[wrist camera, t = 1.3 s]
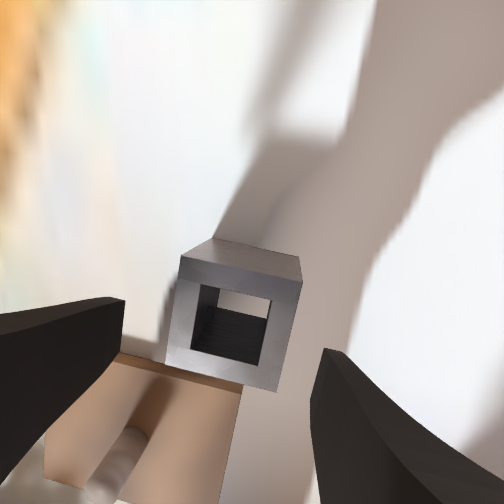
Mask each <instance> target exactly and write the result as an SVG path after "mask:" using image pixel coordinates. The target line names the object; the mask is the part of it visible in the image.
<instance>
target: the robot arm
mask: <svg viewBox="0 0 504 504" xmlns="http://www.w3.org/2000/svg"><path fill="white" fill-rule="evenodd" d="M124 309H125V300H121V299H117V298H112V297H100V298H93V299H87V300H81V301H76V302H70V303H65V304H60V305H54V306H49V307H43V308H37V309H31V310H24V311H18V312H12V313H4V314H0V485H1V483H2V482H3V481H4V480H5V478H6V477H7V476H8V475H9V473H10V472H11V471H12V470H13V469H14V467H15V466H16V465H17V464H18V463H19V461H20V460H21V459H22V458H23V457H24V456H25V454H26V453H27V452H28V451H29V450H30V448H31V447H32V446H33V445H34V444H35V442H36V441H37V440H38V439H39V438H40V437H41V436H42V435H43V434H44V433H45V432H46V430H47V429H48V428H49V427H50V426H51V425H52V424H53V423H54V422H55V421H56V420H57V419H58V418H59V417H60V416H61V415H62V414H63V413H64V412H65V411H66V410H67V409H68V408H69V407H70V406H71V405H72V404H73V403H74V402H75V401H76V400H77V399H78V398H79V397H80V396H81V395H82V394H83V393H84V392H86V390H87V389H88V388H89V387H90V386H91V385H92V384H93V383H94V382H95V381H96V380H97V379H98V378H99V377H100V376H101V375H102V374H103V373H104V372H105V370H106V369H107V368H108V367H109V365H110V364H111V363H112V361H113V360H114V359H115V357H116V356H117V355H118V353H119V352H120V344H121V336H122V327H123V318H124ZM310 429H311V437H312V444H313V451H314V459H315V466H316V473H317V480H318V487H319V494H320V502H321V504H504V481H503V480H502V479H500V478H498V477H497V476H495V475H493V474H492V473H490V472H489V471H487V470H485V469H484V468H482V467H481V466H479V465H477V464H476V463H474V462H473V461H471V460H470V459H468V458H467V457H465V456H464V455H462V454H461V453H459V452H458V451H456V450H455V449H453V448H452V447H450V446H449V445H448V444H446V443H445V442H443V441H442V440H441V439H439V438H438V437H437V436H435V435H434V434H433V433H431V432H430V431H429V430H427V429H426V428H425V427H424V426H422V425H421V424H420V423H418V422H417V421H416V420H414V419H413V418H412V417H411V416H410V415H408V414H407V413H406V412H405V411H404V410H403V409H401V408H400V407H399V406H398V405H397V404H396V403H395V402H394V401H392V400H391V399H390V398H389V397H388V396H387V395H386V394H385V393H384V392H383V391H382V390H381V389H379V388H378V387H377V386H376V385H375V384H374V383H373V382H372V381H371V380H370V379H369V378H368V377H367V376H366V375H365V374H364V373H363V372H362V371H361V370H360V369H359V368H358V367H357V365H356V364H355V363H354V362H353V361H352V360H351V359H350V358H348V357H347V356H346V355H345V354H344V353H343V352H340V351H336V350H332V349H328V348H324V350H323V354H322V357H321V361H320V365H319V368H318V372H317V376H316V379H315V383H314V387H313V391H312V394H311V398H310Z"/></svg>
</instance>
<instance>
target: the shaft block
mask: <svg viewBox="0 0 504 504" xmlns="http://www.w3.org/2000/svg"><path fill="white" fill-rule="evenodd" d="M243 385H244V384H240V383H236V382H232V381H228V380H224V379H220V378H216V377H213V376H209V375H205V374H201V373H197V372H193V371H189V370H185V369H181V368H177V367H173V366H169V365H165V364H163V363H159V362H155V361H151V360H147V359H143V358H139V357H135V356H131V355H127V354H123V353H118V355H117V356H116V357H115V359H114V360H113V361H112V363H111V364H110V365H109V367H108V368H107V369H106V370H105V372H104V373H103V374H102V375H101V376H100V377H99V378H98V379H97V380H96V381H95V382H94V383H93V384H92V385H91V386H90V387H89V388H88V389H87V390H86V392H84V393H83V394H82V395H81V396H80V397H79V398H78V399H77V400H76V401H75V402H74V403H73V404H72V405H71V406H70V407H69V408H68V409H67V410H66V411H65V412H64V413H63V414H62V415H61V416H60V417H59V418H58V419H57V420H56V421H55V422H54V423H53V424H52V425H51V426H50V427H49V428H48V429H47V430H46V434H45V450H44V466H43V478H46V479H50V480H53V481H57V482H60V483H63V484H67V485H70V486H74V487H77V488H81V489H84V490H85V494H86V496H87V498H88V499H89V500H90V501H91V502H92V503H94V504H114V503H115V501H116V500H117V499H118V500H121V501H125V502H128V503H132V504H218V501H219V497H220V492H221V487H222V483H223V478H224V473H225V469H226V464H227V459H228V454H229V450H230V445H231V440H232V436H233V431H234V427H235V422H236V417H237V413H238V408H239V403H240V398H241V394H242V389H243Z"/></svg>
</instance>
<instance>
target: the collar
mask: <svg viewBox="0 0 504 504" xmlns="http://www.w3.org/2000/svg"><path fill="white" fill-rule="evenodd" d="M302 284H303V280H302V274H301V268H300V262H299V257H297V256H292V255H287V254H283V253H279V252H274V251H269V250H265V249H260V248H255V247H251V246H246V245H242V244H237V243H232V242H228V241H223V240H218V239H214V238H211V239H209V240H207V241H205V242H204V243H202V244H200V245H198V246H197V247H195V248H193V249H191V250H190V251H188V252H186V253H184V254H182V255H181V259H180V265H179V272H178V278H177V285H176V292H175V298H174V305H173V312H172V318H171V325H170V332H169V338H168V345H167V351H166V358H165V365H169V366H173V367H177V368H181V369H185V370H189V371H193V372H197V373H201V374H205V375H209V376H213V377H216V378H220V379H224V380H228V381H232V382H236V383H240V384H244V385H248V386H252V387H256V388H260V389H264V390H268V391H272V392H276V391H277V387H278V383H279V379H280V375H281V371H282V366H283V362H284V358H285V354H286V350H287V346H288V341H289V337H290V333H291V329H292V325H293V321H294V317H295V313H296V308H297V304H298V300H299V296H300V292H301V288H302ZM220 288H221V289H226V290H230V291H235V292H238V293H243V294H247V295H251V296H256V297H261V298H265V299H269V300H271V301H270V305H269V310H268V314H267V319H265V318H261V317H256V316H252V315H247V314H243V313H239V312H235V311H231V310H227V309H222V308H218V307H217V303H218V298H219V292H220Z"/></svg>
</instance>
